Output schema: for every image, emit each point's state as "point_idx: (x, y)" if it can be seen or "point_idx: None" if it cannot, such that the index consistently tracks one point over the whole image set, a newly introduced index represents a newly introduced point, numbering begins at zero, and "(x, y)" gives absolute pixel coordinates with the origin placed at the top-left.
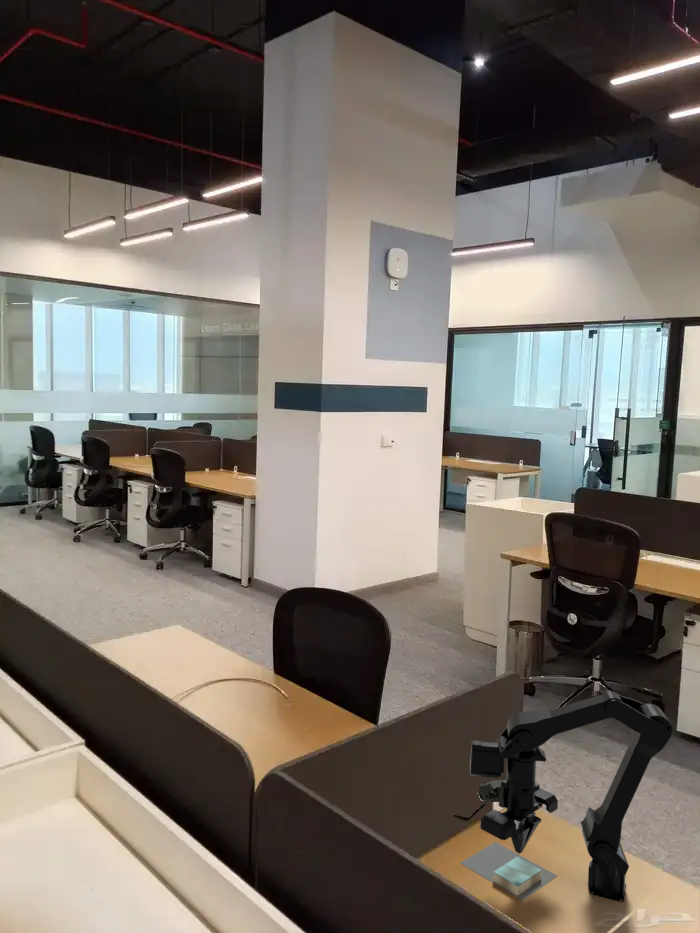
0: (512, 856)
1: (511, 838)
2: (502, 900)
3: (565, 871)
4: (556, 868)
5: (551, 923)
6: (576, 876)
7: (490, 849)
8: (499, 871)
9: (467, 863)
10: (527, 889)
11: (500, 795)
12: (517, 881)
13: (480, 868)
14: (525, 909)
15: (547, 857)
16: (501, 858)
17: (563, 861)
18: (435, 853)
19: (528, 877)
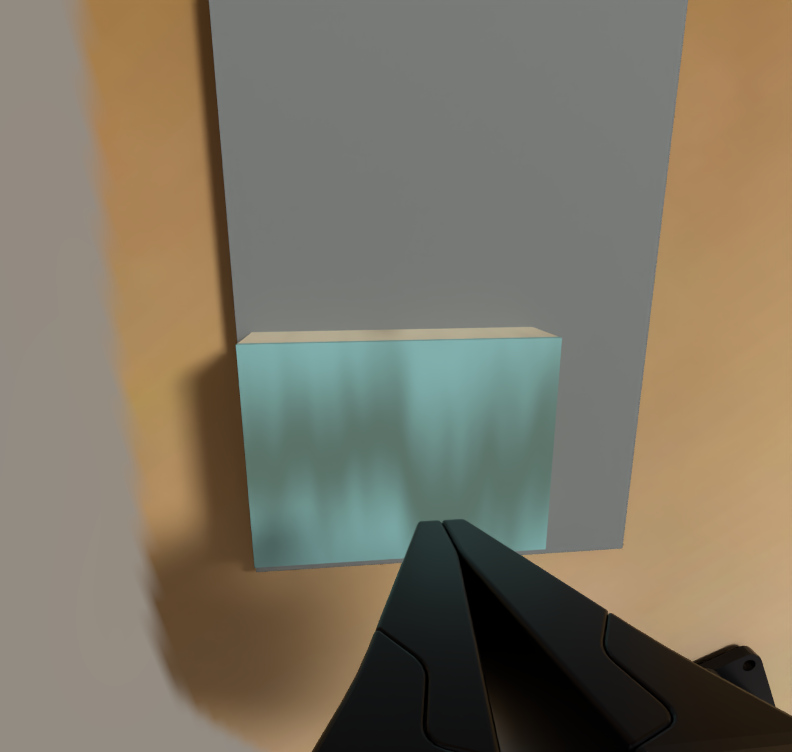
0: (605, 233)
1: (381, 619)
2: (176, 474)
3: (705, 523)
4: (697, 476)
5: (255, 733)
6: (702, 582)
7: (565, 42)
8: (279, 375)
9: (256, 31)
10: None
11: None
12: (297, 533)
13: (293, 161)
14: (230, 599)
15: (767, 375)
16: (526, 190)
17: (788, 460)
18: None
19: (400, 549)
